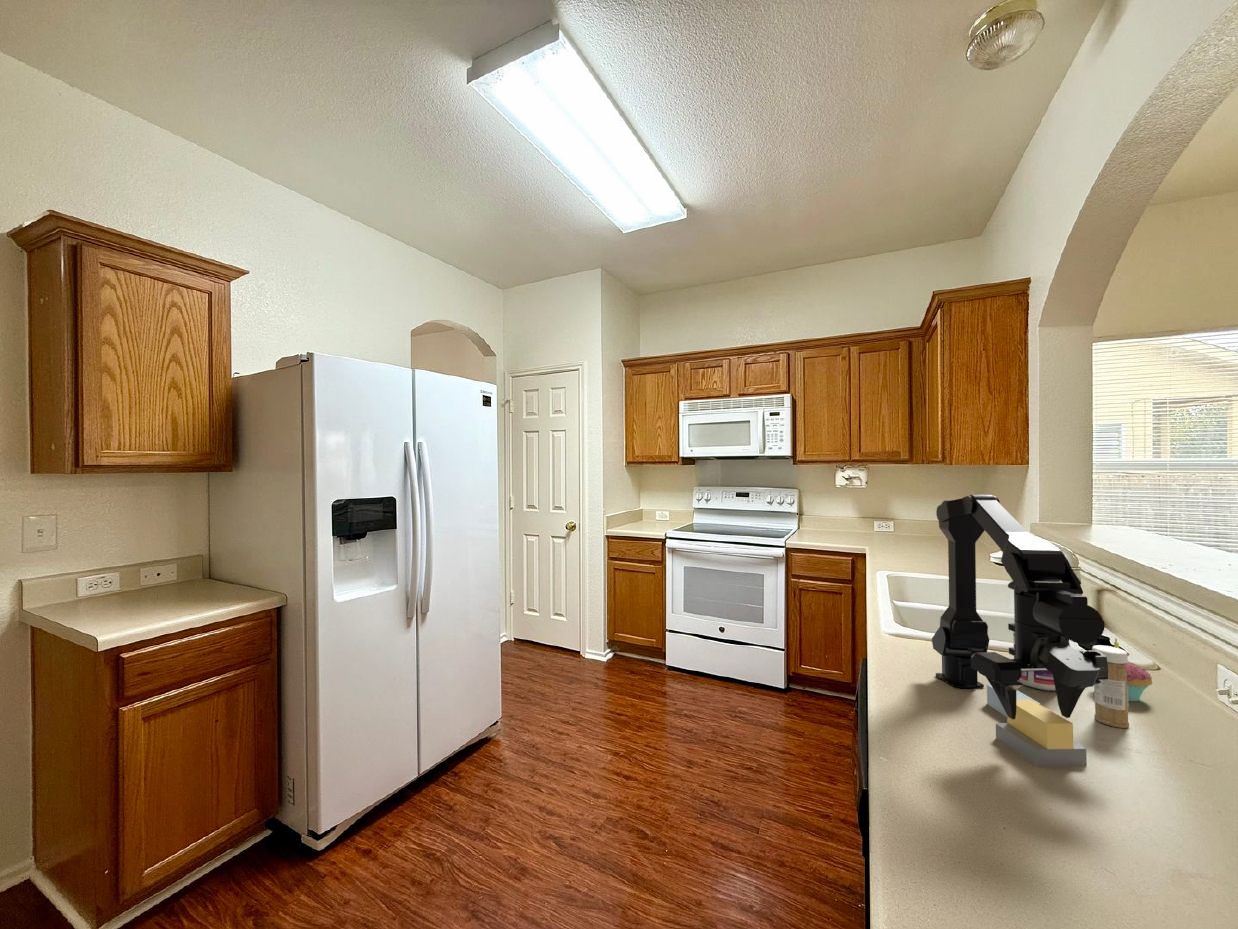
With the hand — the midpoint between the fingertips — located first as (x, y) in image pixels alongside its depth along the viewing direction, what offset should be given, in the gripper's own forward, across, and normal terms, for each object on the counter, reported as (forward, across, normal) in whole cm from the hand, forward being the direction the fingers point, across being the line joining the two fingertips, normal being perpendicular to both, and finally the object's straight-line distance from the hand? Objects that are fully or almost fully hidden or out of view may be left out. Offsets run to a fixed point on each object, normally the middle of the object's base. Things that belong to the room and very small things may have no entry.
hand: (1038, 717), depth 80 cm
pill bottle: (+6, +22, +24) cm, 33 cm away
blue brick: (+6, +6, +12) cm, 15 cm away
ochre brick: (+3, 0, 0) cm, 3 cm away
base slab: (+6, 0, 0) cm, 6 cm away
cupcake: (+6, +34, +18) cm, 39 cm away
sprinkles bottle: (+6, +21, +8) cm, 23 cm away
